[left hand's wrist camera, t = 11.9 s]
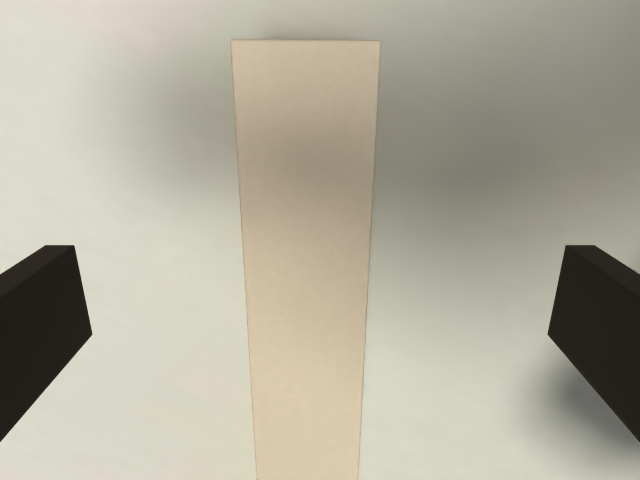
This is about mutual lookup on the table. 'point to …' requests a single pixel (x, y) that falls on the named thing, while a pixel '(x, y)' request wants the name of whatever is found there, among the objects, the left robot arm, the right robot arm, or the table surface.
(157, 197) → the table surface
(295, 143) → the bar
